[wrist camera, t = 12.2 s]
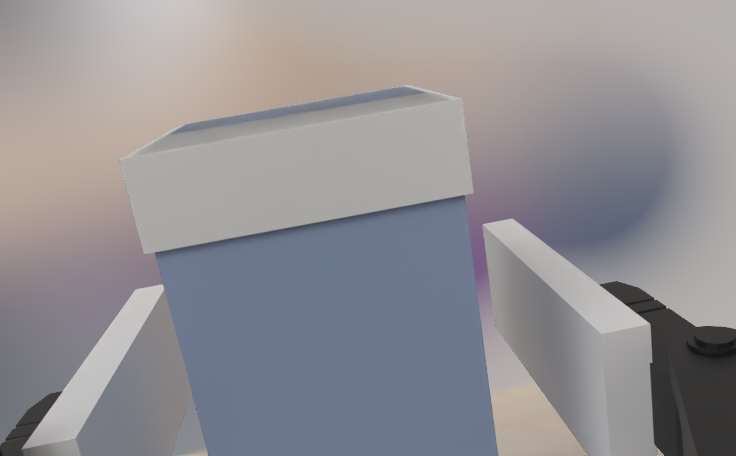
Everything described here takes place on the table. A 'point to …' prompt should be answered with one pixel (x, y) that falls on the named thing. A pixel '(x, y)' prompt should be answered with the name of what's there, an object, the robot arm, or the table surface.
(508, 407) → the table surface
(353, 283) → the plug
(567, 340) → the robot arm
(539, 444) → the table surface
